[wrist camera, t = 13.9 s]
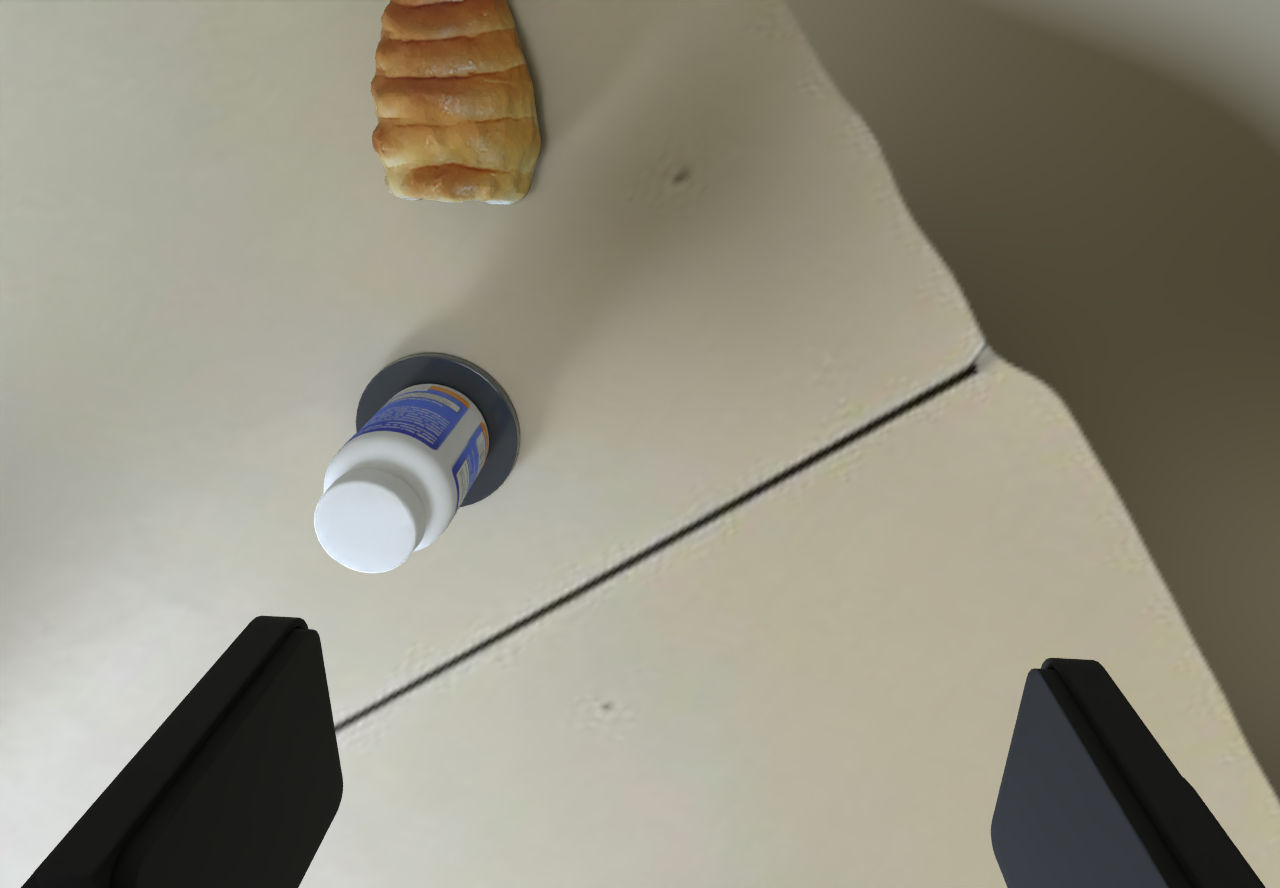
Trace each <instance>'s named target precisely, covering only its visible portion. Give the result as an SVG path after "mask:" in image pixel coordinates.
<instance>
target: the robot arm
mask: <svg viewBox="0 0 1280 888" xmlns="http://www.w3.org/2000/svg"><path fill="white" fill-rule="evenodd" d="M342 793H343V778H342V772H341V766H340V760H339V753H338V747H337V741H336V735H335V729H334V722H333V716H332V710H331V704H330V698H329V692H328V685H327V679H326V673H325V667H324V661H323V654H322V648H321V642H320V637H319V634H318V633H317V631H316V630H312V629H308V626H307V624H306V622H305V621H304V620H303V619H301V618H293V617H274V616H259V617H256V618H255V619H253V620H252V621H251V622H250V623H249V624H248V626H247V627H246V628H245V629H244V630H243V631H242V633H241V634H240V635H239V636H238V637H237V638H236V639H235V641H234V642H233V643H232V644H231V645H230V646H229V648H228V649H227V650H226V651H225V652H224V653H223V654H222V656H221V657H220V658H219V659H218V660H217V661H216V663H215V664H214V665H213V666H212V667H211V668H210V670H209V671H208V672H207V673H206V674H205V675H204V676H203V678H202V679H201V680H200V681H199V682H198V683H197V685H196V686H195V687H194V688H193V689H192V690H191V691H190V693H189V694H188V695H187V696H186V697H185V698H184V700H183V701H182V702H181V703H180V704H179V705H178V706H177V708H176V709H175V710H174V711H173V712H172V713H171V715H170V716H169V717H168V718H167V719H166V720H165V721H164V723H163V724H162V725H161V726H160V727H159V728H158V730H157V731H156V732H155V733H154V734H153V735H152V736H151V738H150V739H149V740H148V741H147V742H146V743H145V745H144V746H143V747H142V748H141V749H140V750H139V751H138V753H137V754H136V755H135V756H134V757H133V758H132V760H131V761H130V762H129V763H128V764H127V765H126V766H125V768H124V769H123V770H122V771H121V772H120V773H119V775H118V776H117V777H116V778H115V779H114V780H113V781H112V783H111V784H110V785H109V786H108V787H107V788H106V790H105V791H104V792H103V793H102V794H101V795H100V796H99V798H98V799H97V800H96V801H95V802H94V803H93V805H92V806H91V807H90V808H89V809H88V810H87V811H86V813H85V814H84V815H83V816H82V817H81V818H80V820H79V821H78V822H77V823H76V824H75V825H74V826H73V828H72V829H71V830H70V831H69V832H68V833H67V835H66V836H65V837H64V838H63V839H62V840H61V841H60V843H59V844H58V845H57V846H56V847H55V848H54V850H53V851H52V852H51V853H50V854H49V855H48V857H47V858H46V859H45V860H44V861H43V862H42V863H41V865H40V866H39V867H38V868H37V869H36V870H35V872H34V873H33V874H32V875H31V877H30V878H29V879H28V880H27V881H26V882H25V884H24V885H23V886H22V887H21V888H298V887H299V885H300V883H301V881H302V879H303V877H304V875H305V873H306V871H307V869H308V867H309V865H310V864H311V862H312V860H313V858H314V856H315V854H316V852H317V850H318V848H319V846H320V844H321V842H322V840H323V838H324V836H325V834H326V832H327V830H328V828H329V826H330V824H331V822H332V821H333V819H334V817H335V815H336V813H337V810H338V808H339V805H340V802H341V798H342ZM991 839H992V846H993V850H994V853H995V857H996V859H997V862H998V864H999V867H1000V869H1001V872H1002V874H1003V877H1004V879H1005V882H1006V885H1007V887H1008V888H1265V886H1264V885H1263V883H1262V882H1261V881H1260V879H1259V878H1258V876H1257V875H1256V874H1255V872H1254V871H1253V870H1252V868H1251V867H1250V865H1249V864H1248V863H1247V861H1246V860H1245V859H1244V857H1243V856H1242V854H1241V853H1240V852H1239V850H1238V849H1237V847H1236V846H1235V845H1234V843H1233V842H1232V841H1231V839H1230V838H1229V836H1228V835H1227V834H1226V832H1225V831H1224V829H1223V828H1222V827H1221V825H1220V824H1219V823H1218V821H1217V820H1216V818H1215V817H1214V816H1213V814H1212V813H1211V811H1210V810H1209V809H1208V807H1207V806H1206V805H1205V803H1204V802H1203V800H1202V799H1201V798H1200V796H1199V795H1198V794H1197V792H1196V791H1195V789H1194V788H1193V787H1192V786H1191V785H1190V784H1189V783H1188V782H1187V781H1186V779H1185V778H1183V777H1182V776H1181V774H1180V773H1179V772H1178V770H1177V769H1176V767H1175V766H1174V765H1173V763H1172V762H1171V760H1170V759H1169V758H1168V756H1167V755H1166V754H1165V752H1164V751H1163V749H1162V748H1161V747H1160V745H1159V744H1158V742H1157V741H1156V740H1155V738H1154V737H1153V735H1152V734H1151V733H1150V731H1149V730H1148V728H1147V727H1146V726H1145V724H1144V723H1143V721H1142V720H1141V719H1140V717H1139V716H1138V715H1137V713H1136V712H1135V710H1134V709H1133V708H1132V706H1131V705H1130V703H1129V702H1128V701H1127V699H1126V698H1125V696H1124V695H1123V694H1122V692H1121V691H1120V689H1119V688H1118V687H1117V685H1116V684H1115V683H1114V681H1113V680H1112V678H1111V677H1110V676H1109V674H1108V673H1107V671H1106V670H1105V669H1104V667H1103V666H1102V665H1101V664H1100V663H1099V662H1097V661H1094V660H1081V659H1062V658H1049V659H1046V660H1045V661H1044V663H1043V664H1042V667H1041V669H1031V671H1030V672H1029V673H1028V676H1027V679H1026V683H1025V687H1024V691H1023V696H1022V700H1021V704H1020V708H1019V712H1018V716H1017V720H1016V724H1015V728H1014V733H1013V737H1012V741H1011V745H1010V749H1009V753H1008V757H1007V761H1006V766H1005V770H1004V774H1003V778H1002V782H1001V786H1000V790H999V794H998V799H997V803H996V807H995V811H994V815H993V819H992V825H991Z"/></svg>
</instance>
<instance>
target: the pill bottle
mask: <svg viewBox="0 0 1280 888" xmlns="http://www.w3.org/2000/svg"><path fill="white" fill-rule="evenodd" d="M488 448H489V435H488V430H487V426H486V423H485V421H484V419H483V417H482V415H481V413H480V411H479V410H478V408H477V407H476V406H475V405H474V404H473V402H472V401H471V400H470V399H468V398H467V397H466V396H465V395H463V394H462V393H460V392H458V391H456V390H454V389H452V388H449V387H446V386H443V385H438V384H420V385H414V386H411V387H408V388H406V389H404V390H402V391H400V392H399V393H397V394H396V395H395V396H393V397H392V398H391V399H390V400H389V401H388V402H387V403H386V404H385V405H384V406H383V407H382V408H381V409H380V410H379V411H378V412H377V413H376V414H375V415H374V416H373V417H372V418H371V419H370V420H369V421H368V422H367V423H366V424H365V425H364V426H363V427H362V428H361V429H360V430H359V431H358V432H357V433H356V434H355V435H354V436H353V437H352V438H351V439H350V440H349V441H348V442H347V443H346V444H345V445H344V446H343V447H342V448H341V449H340V450H339V451H338V452H337V454H336V455H335V456H334V457H333V459H332V460H331V462H330V464H329V466H328V469H327V471H326V475H325V479H324V494H323V495H322V497H321V498H320V500H319V502H318V504H317V506H316V509H315V514H314V527H315V531H316V534H317V537H318V540H319V541H320V543H321V545H322V546H323V548H324V549H325V550H326V552H327V553H328V554H329V555H330V556H331V557H332V558H334V559H335V560H336V561H337V562H339V563H341V564H342V565H344V566H346V567H348V568H350V569H353V570H356V571H360V572H366V573H380V572H386V571H389V570H392V569H394V568H396V567H398V566H400V565H401V564H403V563H404V562H405V561H406V560H407V559H408V558H409V556H410V555H411V554H412V553H413V552H415V551H418V550H421V549H423V548H425V547H427V546H429V545H430V544H432V543H433V542H435V541H436V540H437V539H438V538H439V537H440V536H441V535H442V534H443V533H444V531H445V530H446V528H447V527H448V525H449V524H450V522H451V521H452V519H453V517H454V515H455V514H456V512H457V510H458V509H459V507H460V505H461V504H462V502H463V500H464V498H465V496H466V495H467V493H468V491H469V489H470V488H471V486H472V484H473V482H474V481H475V479H476V477H477V476H478V474H479V472H480V470H481V468H482V467H483V465H484V463H485V460H486V456H487V453H488Z"/></svg>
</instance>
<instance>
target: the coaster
mask: <svg viewBox="0 0 1280 888" xmlns="http://www.w3.org/2000/svg"><path fill="white" fill-rule="evenodd" d="M420 384H438V385H443V386H446V387H449V388H452V389H454V390H456V391H458V392H460V393H462V394H463V395H465V396H466V397H467V398H468V399H470V400H471V401H472V402H473V404H474V405H475V406H476V407H477V408H478V410H479V411H480V413H481V415H482V417H483V419H484V421H485V423H486V426H487V430H488V435H489V448H488V453H487V456H486V460H485V463H484V465H483V467H482V468H481V470H480V472H479V474H478V476H477V477H476V479H475V481H474V482H473V484H472V486H471V488H470V489H469V491H468V493H467V495H466V496H465V498H464V500H463V502H462V504H461V505H460V507H463V506H467V505H471V504H474V503H476V502H478V501H481V500H483V499H484V498H486V497H488V496H490V495H491V494H492V493H493V492H495V491H496V490H497V489H498V488H499V487H500V486H501V485H502V484H503V483H504V481H505V480H506V478H507V477H508V475H509V474H510V472H511V470H512V468H513V466H514V464H515V461H516V458H517V455H518V450H519V442H520V433H519V424H518V420H517V417H516V413H515V411H514V408H513V406H512V404H511V402H510V400H509V398H508V397H507V395H506V394H505V392H504V391H503V390H502V388H501V387H500V386H499V385H498V384H497V383H496V381H495V380H494V379H493V378H491V377H490V376H489V375H488V374H487V373H486V372H484V371H483V370H481V369H480V368H478V367H477V366H475V365H473V364H471V363H469V362H467V361H465V360H462V359H460V358H457V357H454V356H449V355H445V354H436V353H422V354H416V355H411V356H408V357H404V358H401V359H399V360H397V361H395V362H393V363H391V364H390V365H388V366H387V367H385V368H384V369H383V370H382V371H380V372H379V373H378V374H377V375H376V376H375V377H374V378H373V379H372V380H371V382H370V383H369V384H368V385H367V387H366V389H365V390H364V392H363V394H362V396H361V399H360V402H359V405H358V409H357V417H356V429H357V432H358V431H359V430H360V429H361V428H362V427H363V426H364V425H365V424H366V423H367V422H368V421H369V420H370V419H371V418H372V417H373V416H374V415H375V414H376V413H377V412H378V411H379V410H380V409H381V408H382V407H383V406H384V405H385V404H386V403H387V402H388V401H389V400H390V399H391V398H392V397H393V396H395V395H396V394H397V393H399V392H400V391H402V390H404V389H406V388H408V387H411V386H414V385H420Z"/></svg>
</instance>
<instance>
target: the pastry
mask: <svg viewBox="0 0 1280 888" xmlns="http://www.w3.org/2000/svg"><path fill="white" fill-rule="evenodd" d="M381 19H382V21H381V22H382V30H381V40H380V42H379V44H378V47H377V50H376V57H375V59H376V74H375V76H374V78H373V80H372V82H371V92H372V96H373V99H374V102H375V105H376V107H377V108H376V115H377V119H378V126H377V127H376V129H375V130H374V132H373V135H372V141H373V147H374V150H375V151H376V153H377V154H378V155H379V157H380V159H381V161H382V163H383V166H384V169H385V172H386V176H385V183H386V186H387V188H388V190H389V191H390V192H391V193H392V194H394V195H396V196H398V197H400V198H402V199H409V200H414V201H418V200H421V199H428V200H433V201H445V202H465V201H470V200H477V201H480V202H486V203H490V204H505V205H508V204H513V203H515V202H518V201H519V200H521V199H522V198H523V197H524V196H525V195H526V193H527V192H528V190H529V188H530V184H531V181H532V177H533V173H534V168H535V165H536V161H537V159H538V156H539V153H540V149H541V137H540V132H539V127H538V121H537V115H536V107H535V98H534V89H533V83H532V79H531V76H530V74H529V71H528V68H527V64H526V60H525V57H524V55H523V52H522V49H521V45H520V41H519V37H518V35H517V32H516V27H515V23H514V20H513V18H512V15H511V12H510V9H509V6H508V3H507V1H506V0H391V1H390V3H389V5H388V6H387V7H386V9H385V11H384V13H383V15H382V17H381Z"/></svg>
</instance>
